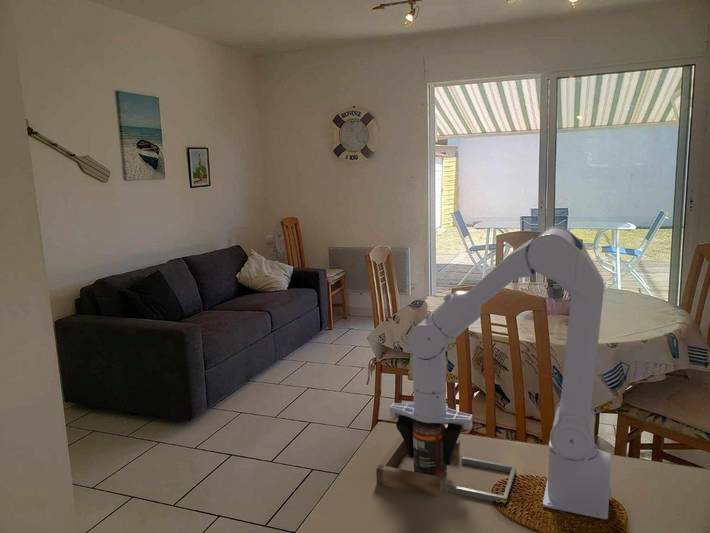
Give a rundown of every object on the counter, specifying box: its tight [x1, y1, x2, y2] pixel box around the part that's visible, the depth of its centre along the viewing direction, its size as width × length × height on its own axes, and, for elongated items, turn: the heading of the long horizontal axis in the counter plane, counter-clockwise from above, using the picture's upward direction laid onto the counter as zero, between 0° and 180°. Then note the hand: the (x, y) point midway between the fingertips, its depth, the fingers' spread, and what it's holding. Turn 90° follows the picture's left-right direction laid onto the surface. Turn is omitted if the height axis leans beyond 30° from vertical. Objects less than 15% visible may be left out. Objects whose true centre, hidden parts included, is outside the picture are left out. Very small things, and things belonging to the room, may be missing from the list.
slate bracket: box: [447, 456, 517, 502], centre depth 96 cm, size 10×10×1 cm
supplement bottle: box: [412, 420, 448, 477], centre depth 99 cm, size 6×6×11 cm
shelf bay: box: [375, 434, 461, 498], centre depth 100 cm, size 11×14×3 cm
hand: (430, 458), depth 99 cm, fingers open, 6 cm apart
